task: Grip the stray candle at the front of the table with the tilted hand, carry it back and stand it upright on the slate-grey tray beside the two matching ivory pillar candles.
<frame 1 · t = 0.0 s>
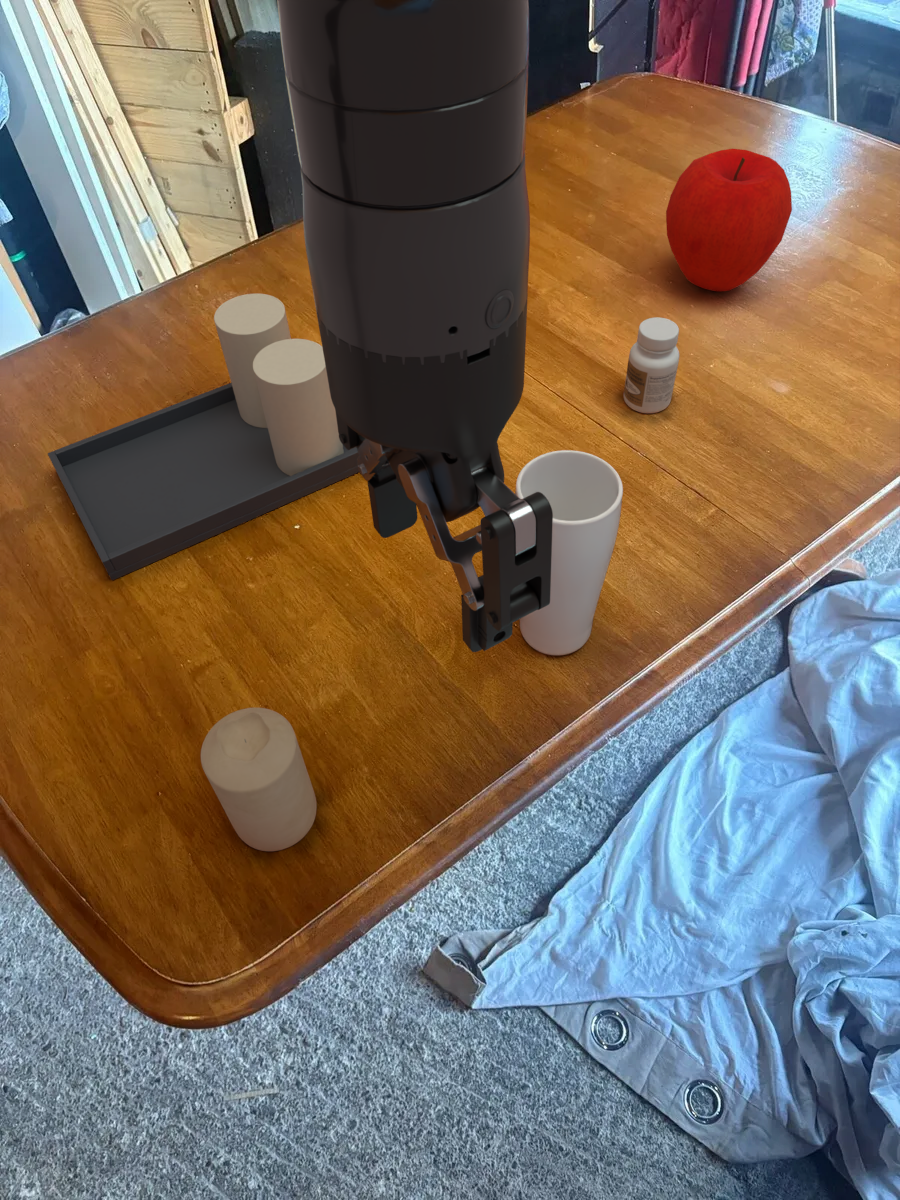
hand: (439, 581, 44), 20 cm above the table, tool pointing down, fingers open, 8 cm apart
apple: (710, 285, 95), on the table
tray: (220, 466, 79), on the table
pill bottle: (646, 401, 83), on the table
ivory candle a: (309, 455, 79), point 1 cm above the table, touching tray
ivory candle b: (271, 407, 83), point 1 cm above the table, touching tray
candle: (276, 813, 58), on the table
drinking glass: (554, 631, 67), on the table
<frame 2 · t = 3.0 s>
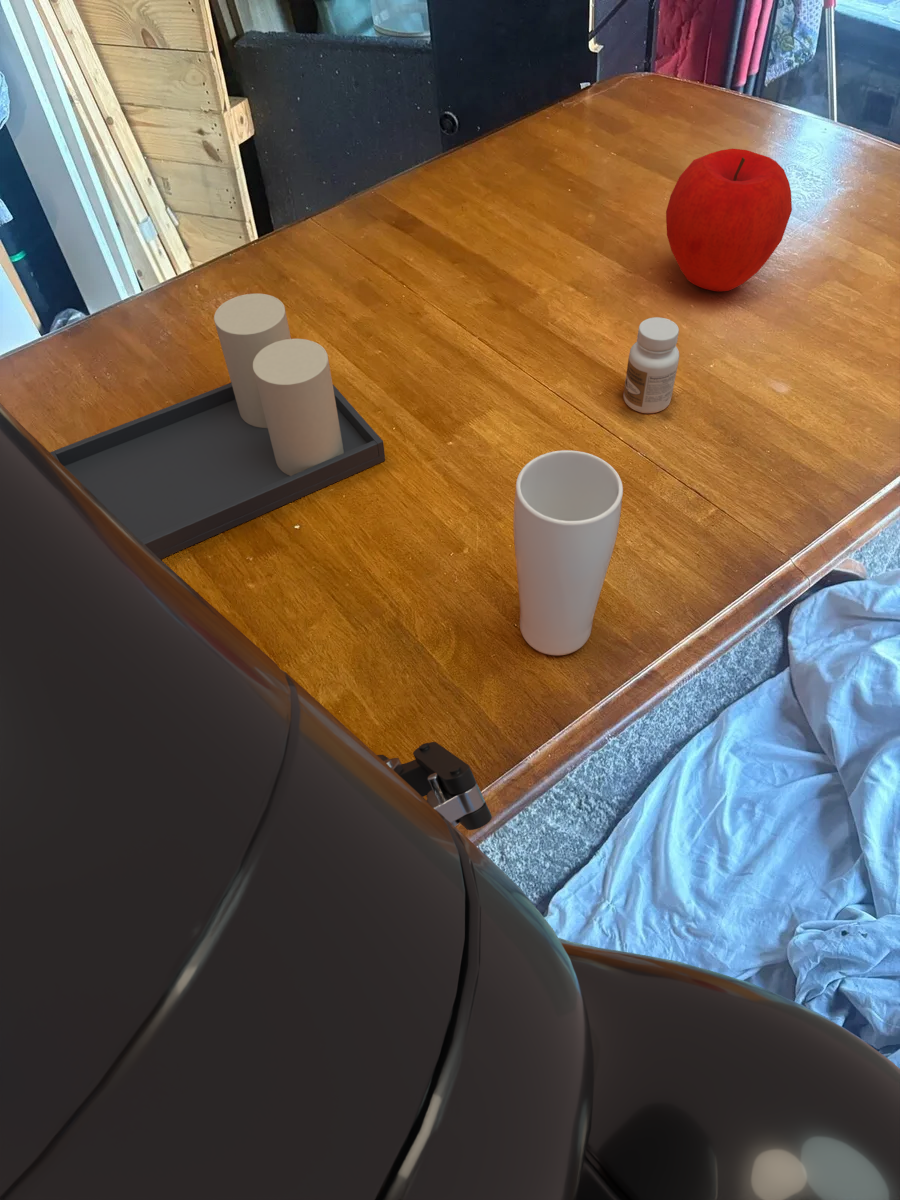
hand: (289, 814, 44), 13 cm above the table, tool tilted 45°, fingers open, 8 cm apart
nothing on the table moved.
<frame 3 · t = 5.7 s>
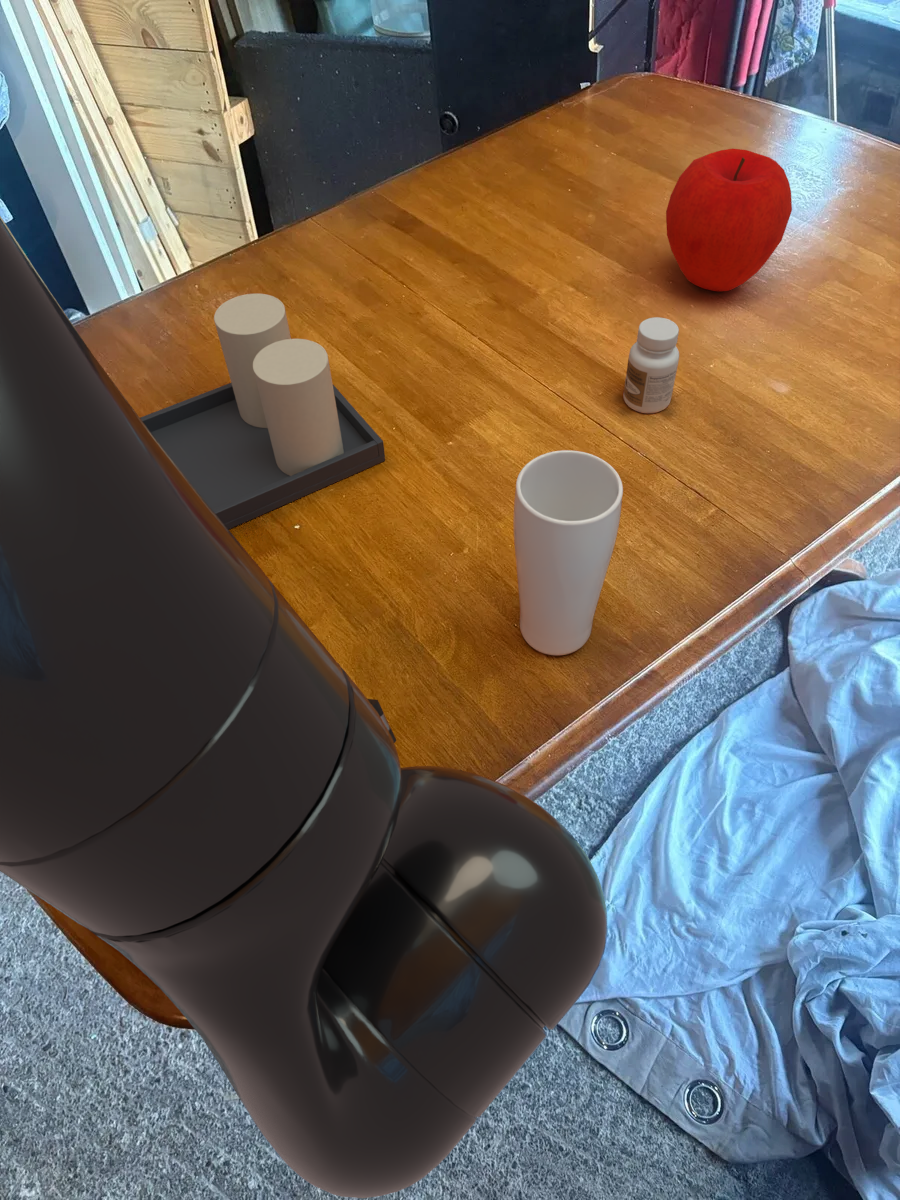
hand: (245, 749, 55), 6 cm above the table, tool tilted 45°, fingers closed on candle, 5 cm apart
candle: (276, 813, 58), on the table, touching gripper
everything else where it was.
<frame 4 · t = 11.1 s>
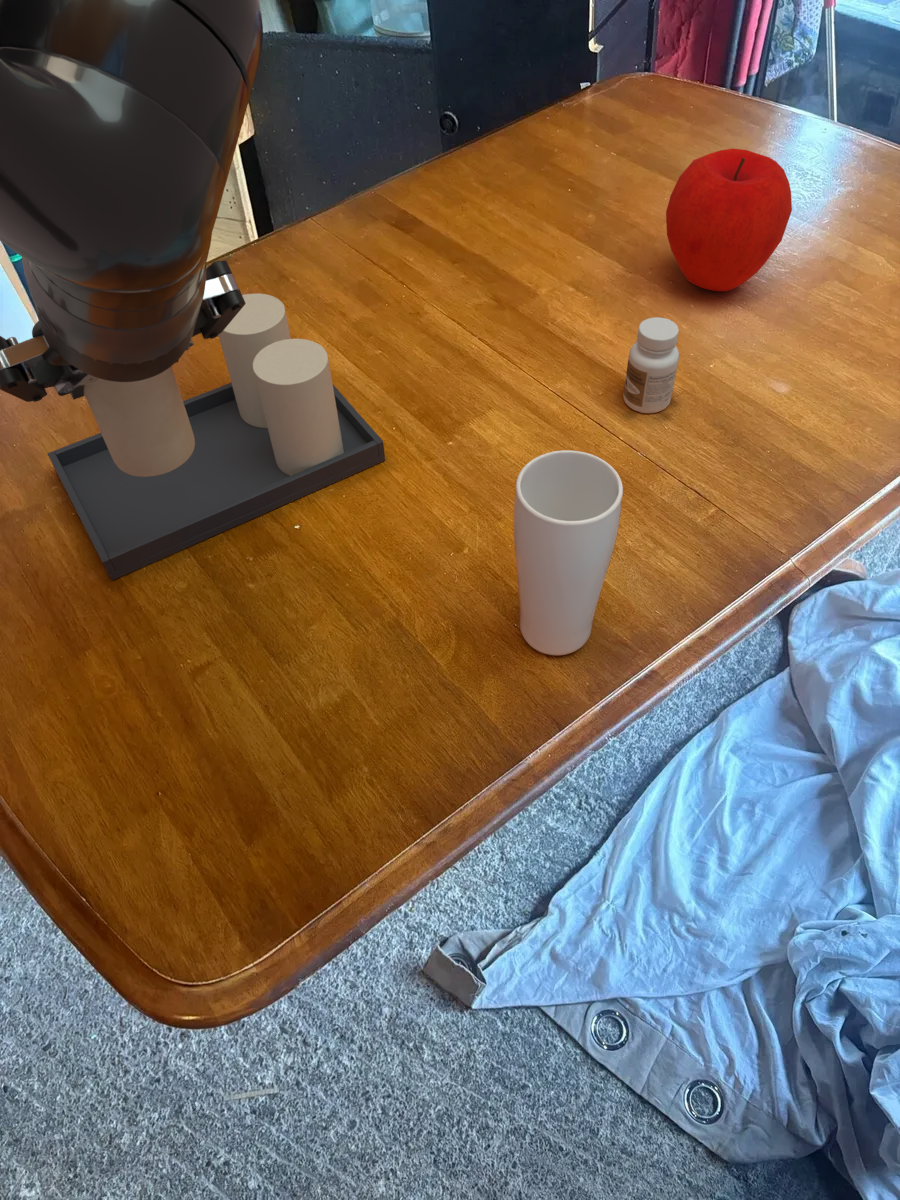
hand: (118, 365, 56), 20 cm above the table, tool tilted 45°, fingers closed on candle, 5 cm apart
candle: (155, 452, 60), point 14 cm above the table, touching gripper
everything else where it was.
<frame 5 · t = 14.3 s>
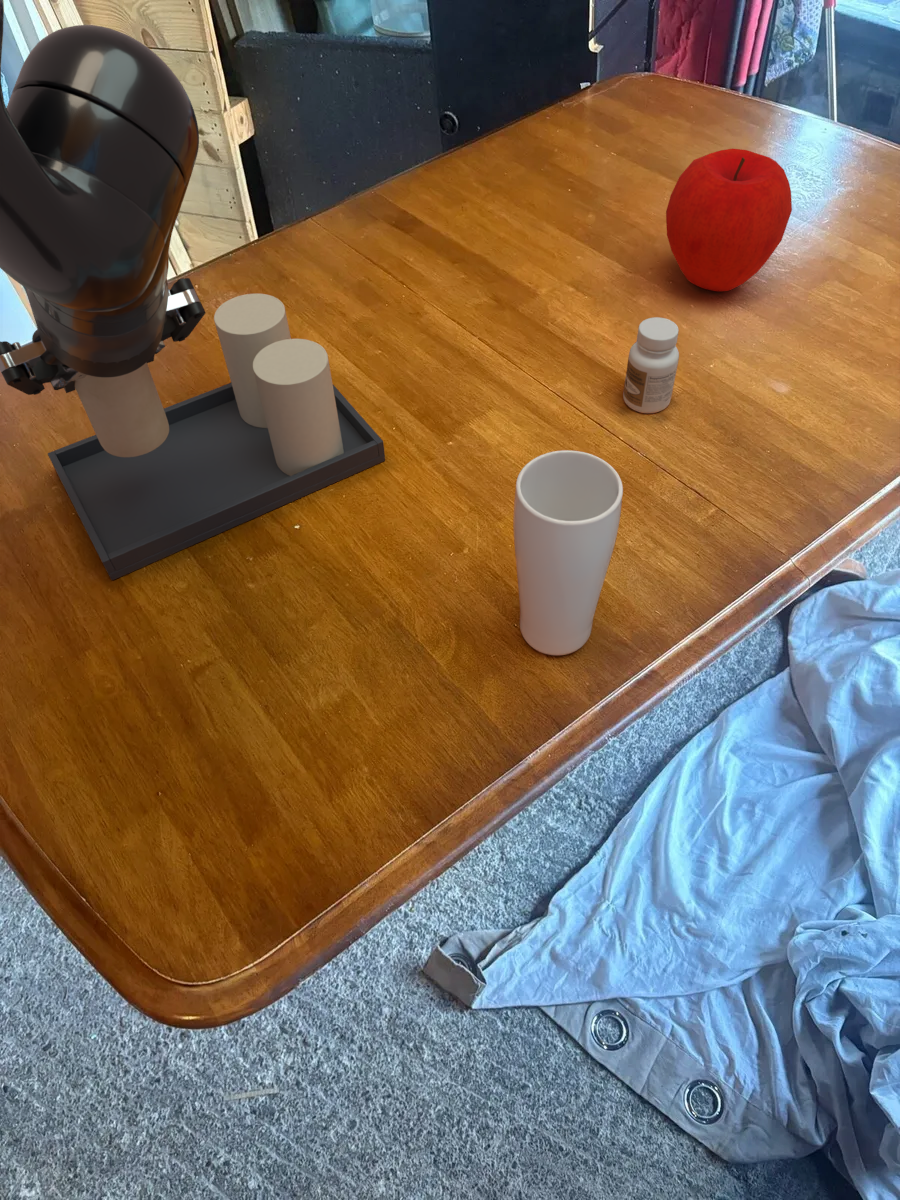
hand: (103, 364, 68), 13 cm above the table, tool tilted 45°, fingers closed on candle, 5 cm apart
candle: (136, 437, 71), point 7 cm above the table, touching gripper
everything else where it was.
when the fingers open (7 cm above the table, at t = 16.6 s): candle stays where it is, resting on tray.
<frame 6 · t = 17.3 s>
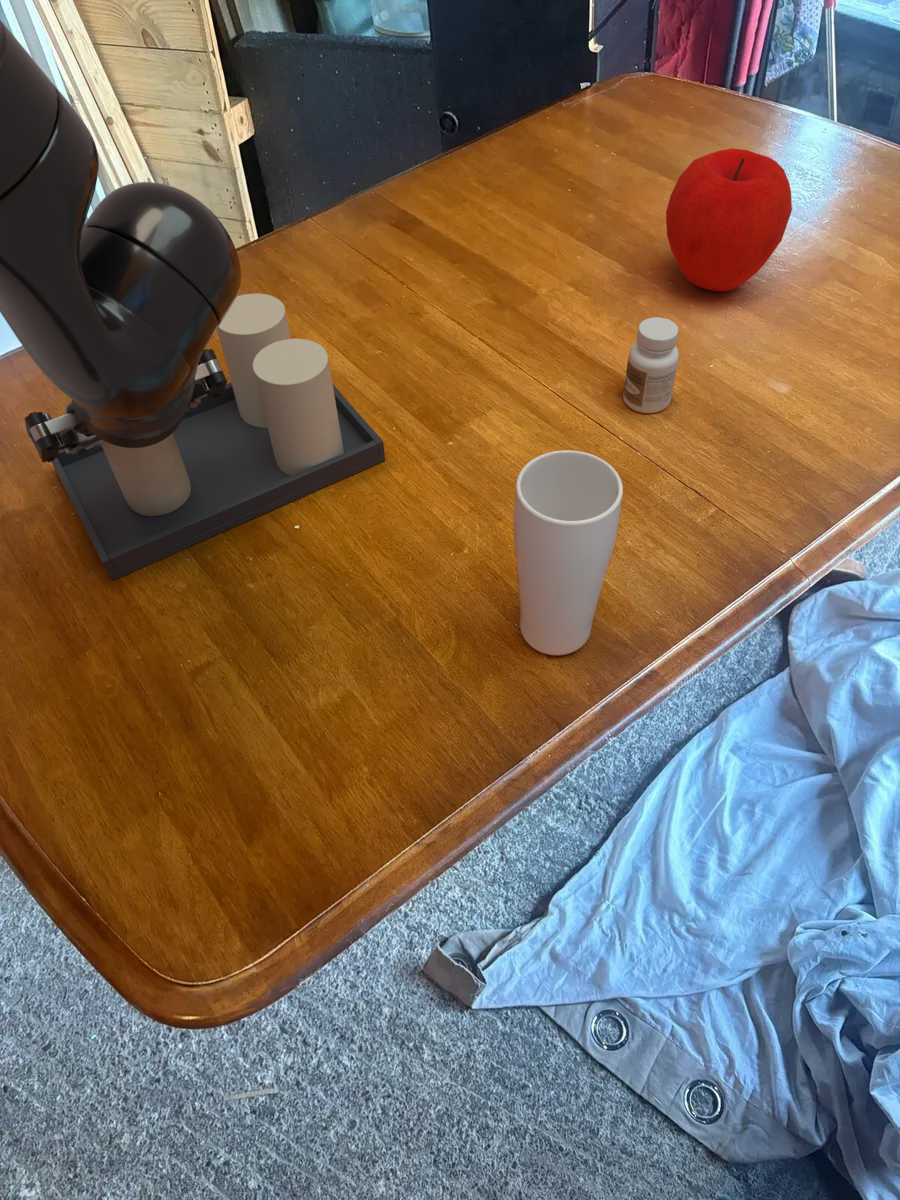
hand: (127, 422, 72), 8 cm above the table, tool tilted 45°, fingers open, 8 cm apart
candle: (160, 495, 76), point 1 cm above the table, touching tray
everything else where it was.
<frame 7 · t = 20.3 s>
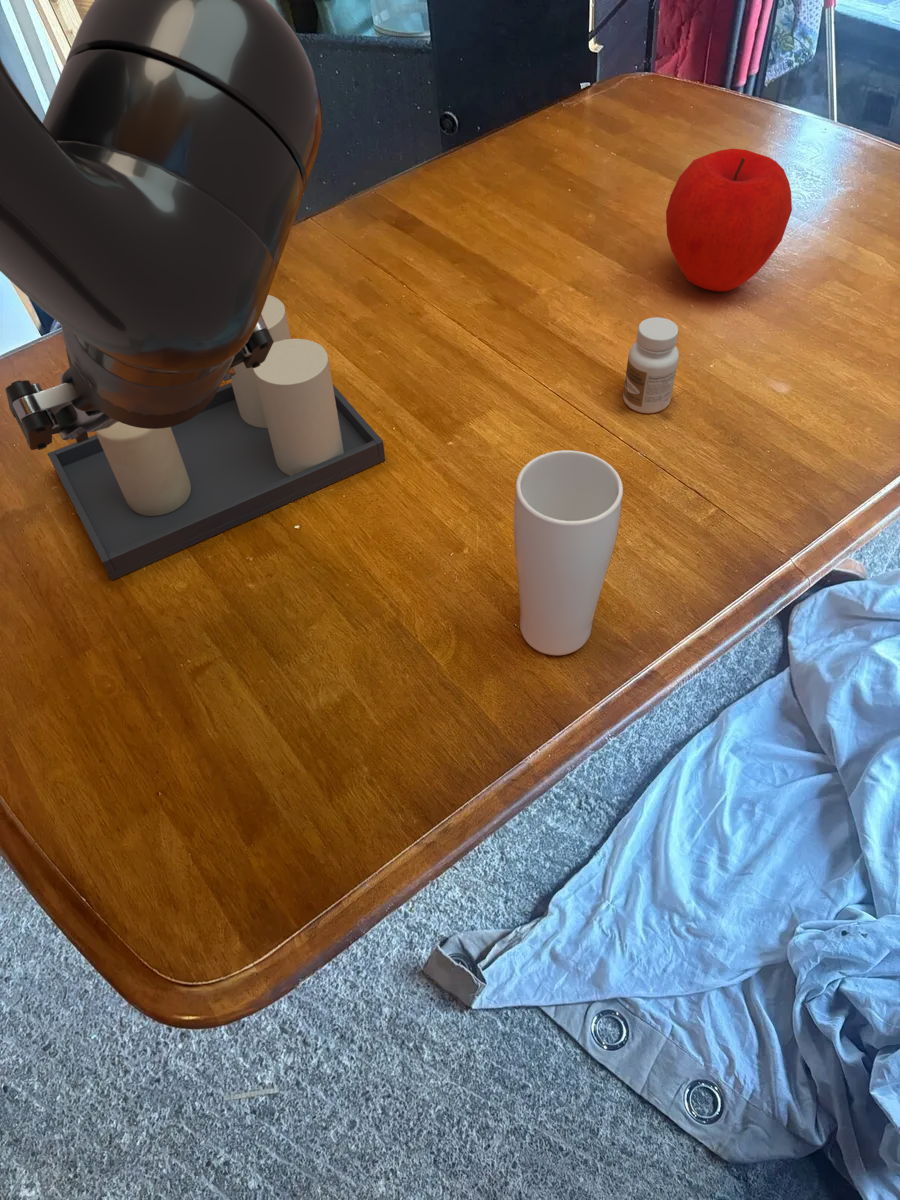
hand: (140, 400, 56), 18 cm above the table, tool tilted 45°, fingers open, 8 cm apart
nothing on the table moved.
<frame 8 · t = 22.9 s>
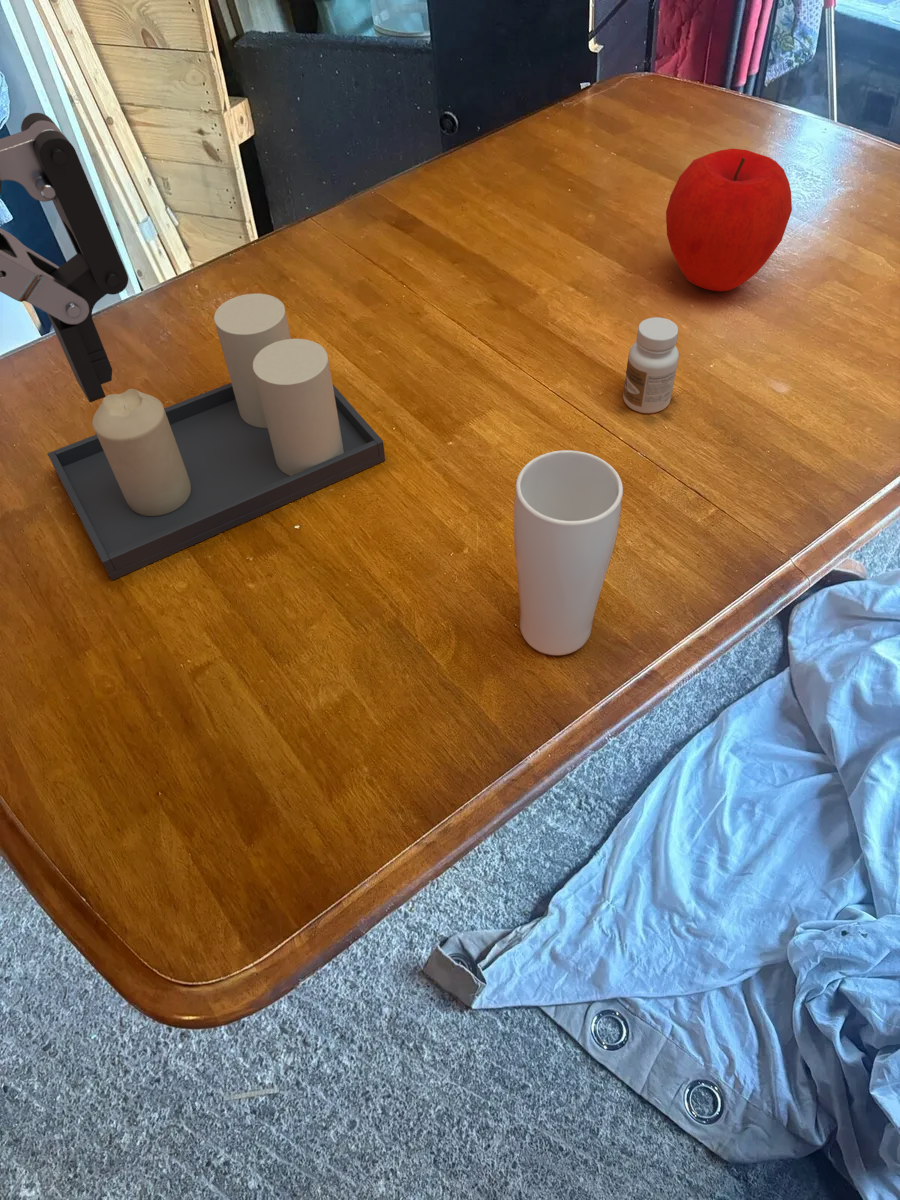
nothing on the table moved.
at the end: candle inside the target area in the tray (0.2 cm from its centre), point 0.6 cm above the tray's base; candle tilted 0°; the gripper is holding nothing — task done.
